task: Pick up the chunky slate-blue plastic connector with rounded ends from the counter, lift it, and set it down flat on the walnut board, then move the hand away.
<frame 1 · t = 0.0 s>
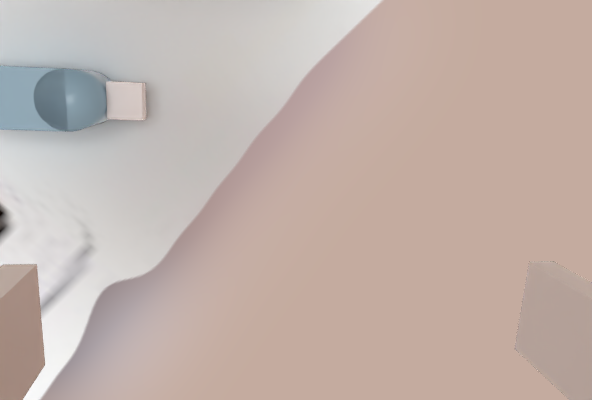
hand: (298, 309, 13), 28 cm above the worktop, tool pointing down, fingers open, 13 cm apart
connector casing: (50, 95, 37), on the worktop
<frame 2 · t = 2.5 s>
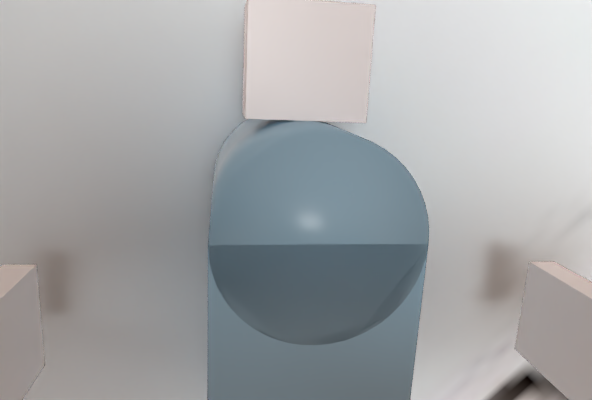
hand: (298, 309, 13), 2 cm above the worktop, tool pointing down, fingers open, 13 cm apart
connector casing: (278, 272, 15), on the worktop
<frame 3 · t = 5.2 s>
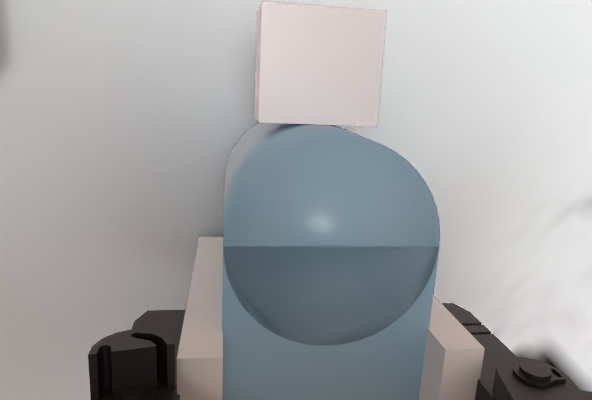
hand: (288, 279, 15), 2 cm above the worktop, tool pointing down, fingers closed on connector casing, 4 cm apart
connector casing: (287, 274, 15), point 2 cm above the worktop, touching gripper
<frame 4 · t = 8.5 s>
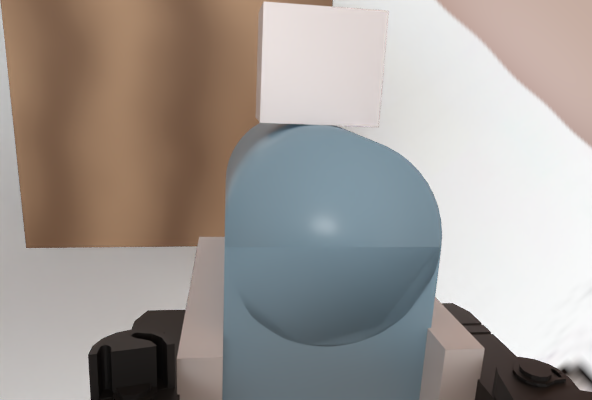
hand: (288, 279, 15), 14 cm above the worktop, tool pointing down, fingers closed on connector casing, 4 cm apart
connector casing: (288, 274, 15), point 14 cm above the worktop, touching gripper
walnut board: (180, 116, 27), on the worktop
when the fingers open (3 cm above the worktop, at t = 12.0 s): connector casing stays where it is, resting on walnut board.
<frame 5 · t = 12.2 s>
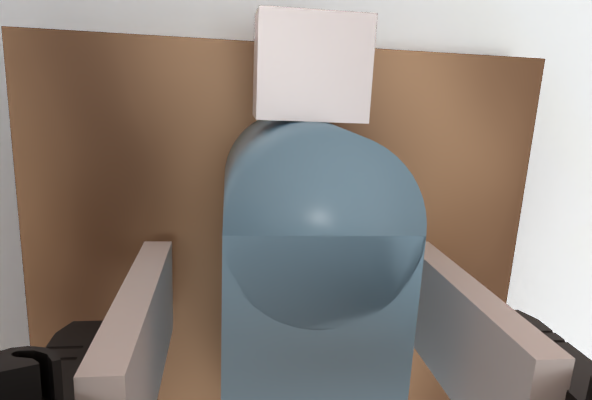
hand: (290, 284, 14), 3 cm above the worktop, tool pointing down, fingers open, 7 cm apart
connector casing: (285, 267, 16), point 2 cm above the worktop, touching walnut board
walnut board: (279, 247, 18), on the worktop
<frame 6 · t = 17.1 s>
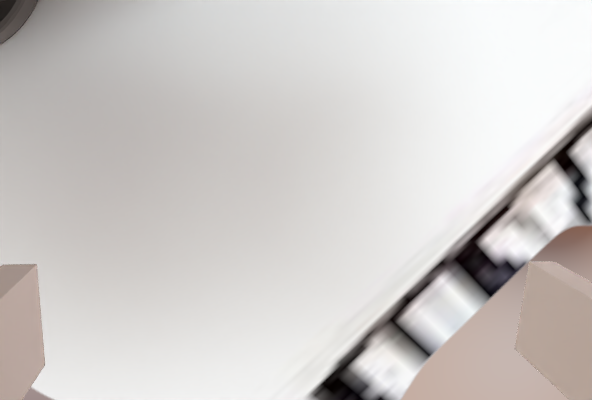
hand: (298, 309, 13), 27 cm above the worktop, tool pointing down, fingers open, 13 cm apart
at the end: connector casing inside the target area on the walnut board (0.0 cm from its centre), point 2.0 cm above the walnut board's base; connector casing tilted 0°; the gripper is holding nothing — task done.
